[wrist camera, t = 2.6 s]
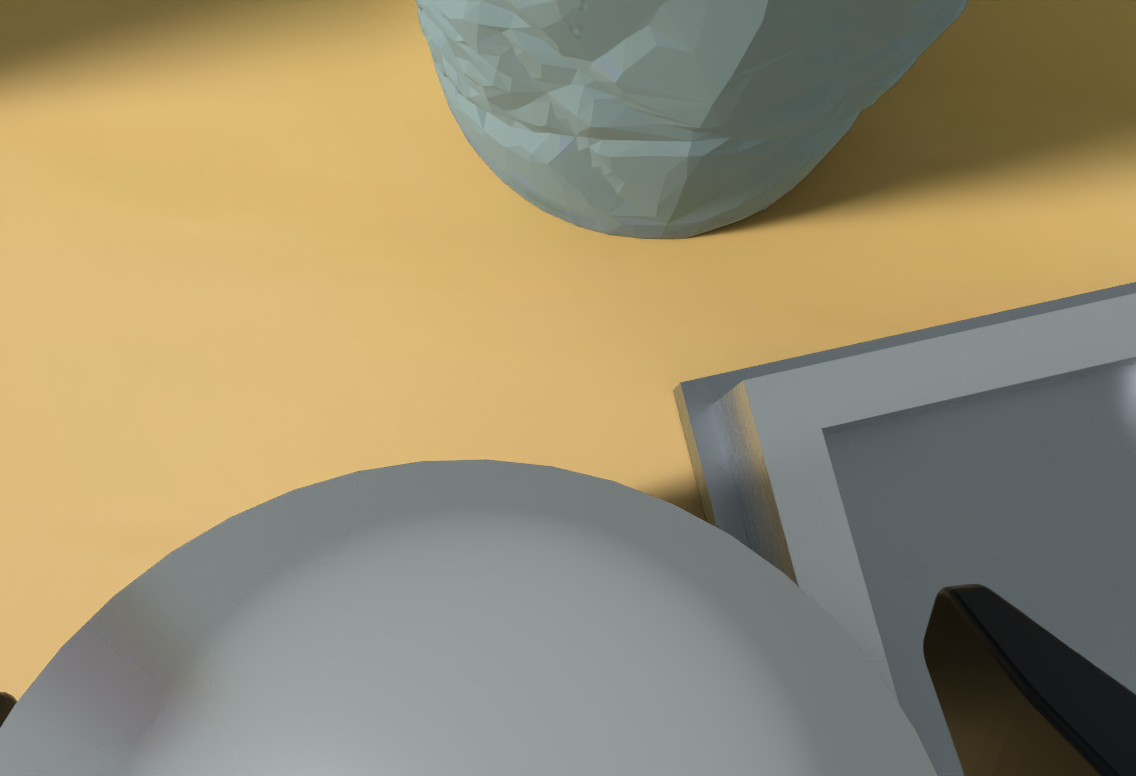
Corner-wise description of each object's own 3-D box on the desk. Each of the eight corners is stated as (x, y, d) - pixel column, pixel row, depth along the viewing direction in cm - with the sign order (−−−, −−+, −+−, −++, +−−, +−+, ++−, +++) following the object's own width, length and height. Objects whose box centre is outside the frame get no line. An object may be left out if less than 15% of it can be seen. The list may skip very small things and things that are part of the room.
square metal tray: (1485, 892, 16) (1704, 971, 13) (848, 1081, 15) (928, 1211, 12) (1248, 263, 18) (1390, 206, 15) (672, 390, 17) (704, 355, 14)
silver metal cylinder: (660, 750, 16) (1146, 1470, 3) (414, 813, 15) (-46, 1881, 3) (602, 504, 16) (828, 368, 4) (366, 560, 16) (-160, 586, 4)
